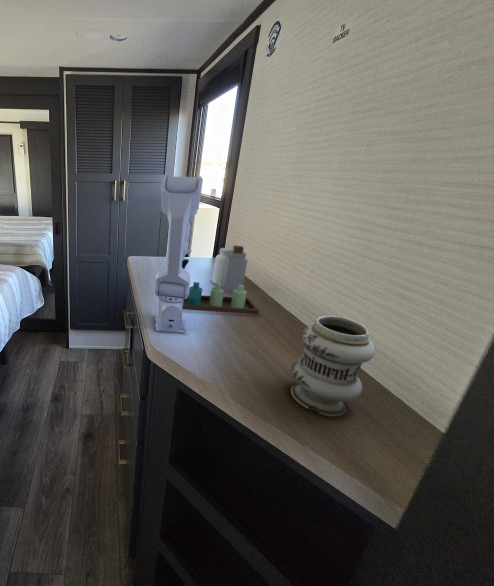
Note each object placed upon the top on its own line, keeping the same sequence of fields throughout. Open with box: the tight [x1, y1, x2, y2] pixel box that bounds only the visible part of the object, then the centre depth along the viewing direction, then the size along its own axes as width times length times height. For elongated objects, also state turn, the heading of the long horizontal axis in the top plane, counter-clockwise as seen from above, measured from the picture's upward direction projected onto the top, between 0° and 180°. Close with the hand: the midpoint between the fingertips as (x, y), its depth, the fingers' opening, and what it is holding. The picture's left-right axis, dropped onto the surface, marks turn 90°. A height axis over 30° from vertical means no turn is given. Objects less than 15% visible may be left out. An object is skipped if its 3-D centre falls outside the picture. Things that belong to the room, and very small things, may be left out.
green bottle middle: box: [209, 283, 225, 307], centre depth 109 cm, size 4×4×8 cm
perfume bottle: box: [221, 245, 248, 292], centre depth 125 cm, size 7×7×18 cm
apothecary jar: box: [290, 315, 376, 417], centre depth 63 cm, size 12×12×18 cm
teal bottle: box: [188, 281, 203, 305], centre depth 110 cm, size 4×4×8 cm
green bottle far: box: [230, 284, 248, 308], centre depth 108 cm, size 4×4×8 cm
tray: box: [182, 293, 260, 315], centre depth 111 cm, size 11×26×2 cm, turn 83°
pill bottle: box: [211, 247, 233, 285], centre depth 133 cm, size 8×8×15 cm
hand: (176, 274), depth 112 cm, fingers open, 7 cm apart
